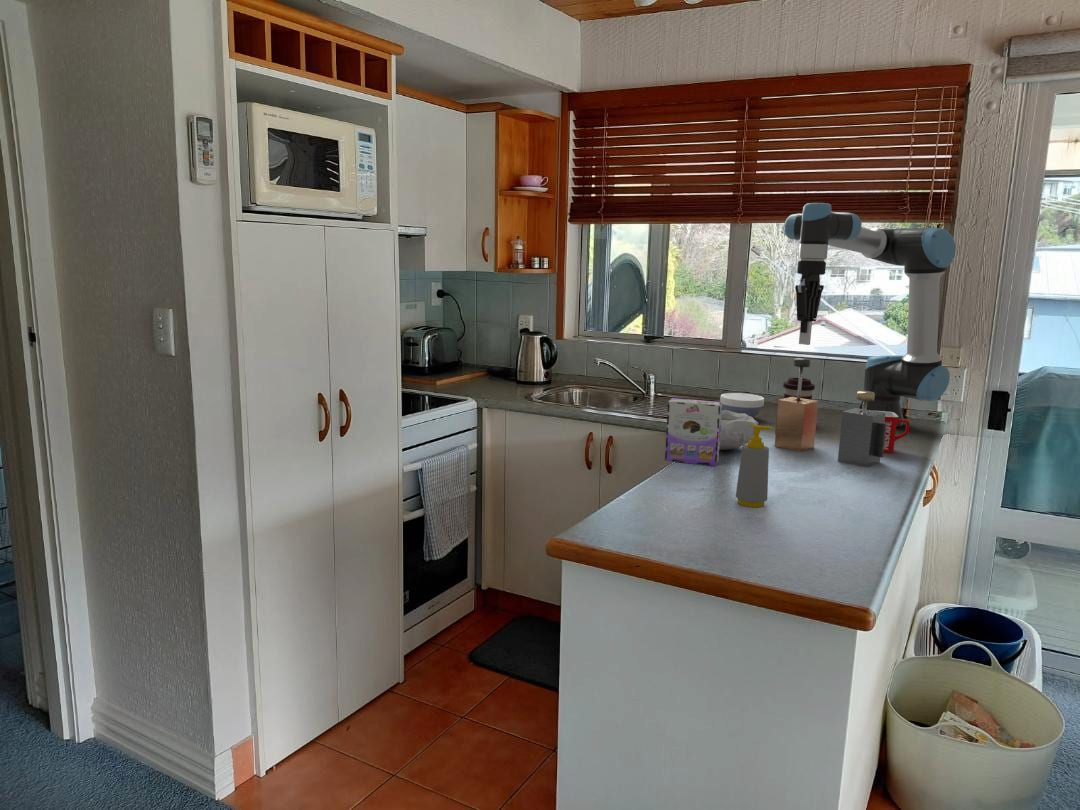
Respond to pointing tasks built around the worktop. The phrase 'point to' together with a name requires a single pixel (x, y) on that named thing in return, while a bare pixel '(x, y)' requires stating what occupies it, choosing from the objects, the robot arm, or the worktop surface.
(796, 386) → the coffee cup
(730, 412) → the white crumpled bag
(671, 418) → the candy box
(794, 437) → the tall wooden block
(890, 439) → the mug
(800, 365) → the grey t-shaped piece
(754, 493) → the soap bottle
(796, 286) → the robot arm
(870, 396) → the beige t-shaped piece
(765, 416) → the worktop surface
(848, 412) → the grey block
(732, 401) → the bowl
